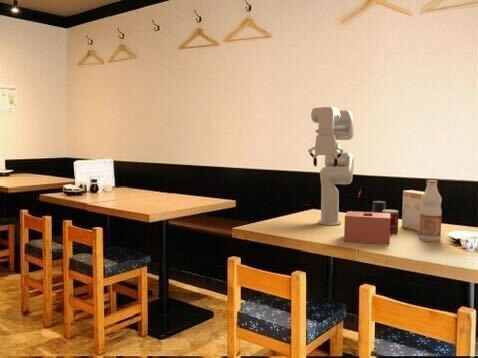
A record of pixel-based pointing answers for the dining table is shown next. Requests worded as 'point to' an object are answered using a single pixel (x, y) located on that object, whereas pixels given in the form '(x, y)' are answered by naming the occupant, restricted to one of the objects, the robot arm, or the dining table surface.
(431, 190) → the fruit juice
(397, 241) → the dining table surface
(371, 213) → the box
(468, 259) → the dining table surface
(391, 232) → the canned food
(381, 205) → the ink bottle
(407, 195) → the coffeecake box
